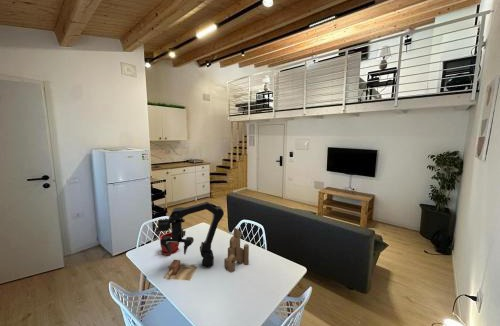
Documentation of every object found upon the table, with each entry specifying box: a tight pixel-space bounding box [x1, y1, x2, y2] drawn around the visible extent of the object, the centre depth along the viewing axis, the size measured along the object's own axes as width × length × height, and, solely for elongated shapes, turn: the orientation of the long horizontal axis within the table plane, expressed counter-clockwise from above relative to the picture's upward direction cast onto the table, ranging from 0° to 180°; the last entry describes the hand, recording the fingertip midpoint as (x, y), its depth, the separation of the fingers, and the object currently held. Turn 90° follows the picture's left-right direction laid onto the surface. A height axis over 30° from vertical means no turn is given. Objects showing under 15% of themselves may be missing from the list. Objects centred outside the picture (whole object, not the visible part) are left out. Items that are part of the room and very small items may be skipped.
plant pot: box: [159, 232, 180, 256], centre depth 158 cm, size 13×13×12 cm
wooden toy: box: [223, 227, 250, 273], centre depth 141 cm, size 16×7×25 cm, turn 131°
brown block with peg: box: [168, 259, 181, 278], centre depth 131 cm, size 4×11×6 cm, turn 174°
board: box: [162, 262, 198, 281], centre depth 133 cm, size 16×14×4 cm
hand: (177, 254), depth 135 cm, fingers open, 9 cm apart
